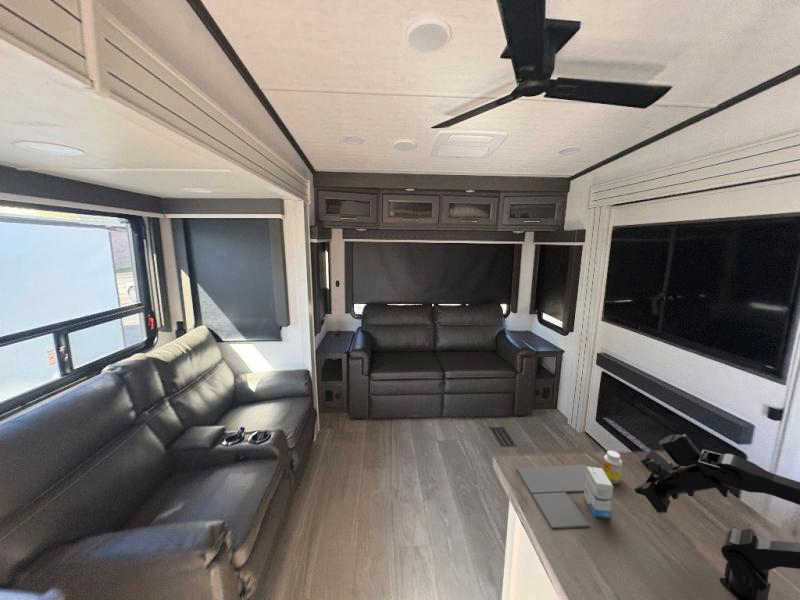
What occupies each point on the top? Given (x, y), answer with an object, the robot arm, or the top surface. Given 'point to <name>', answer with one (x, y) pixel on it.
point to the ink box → (598, 492)
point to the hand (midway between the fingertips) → (635, 490)
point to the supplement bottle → (612, 466)
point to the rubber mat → (557, 492)
